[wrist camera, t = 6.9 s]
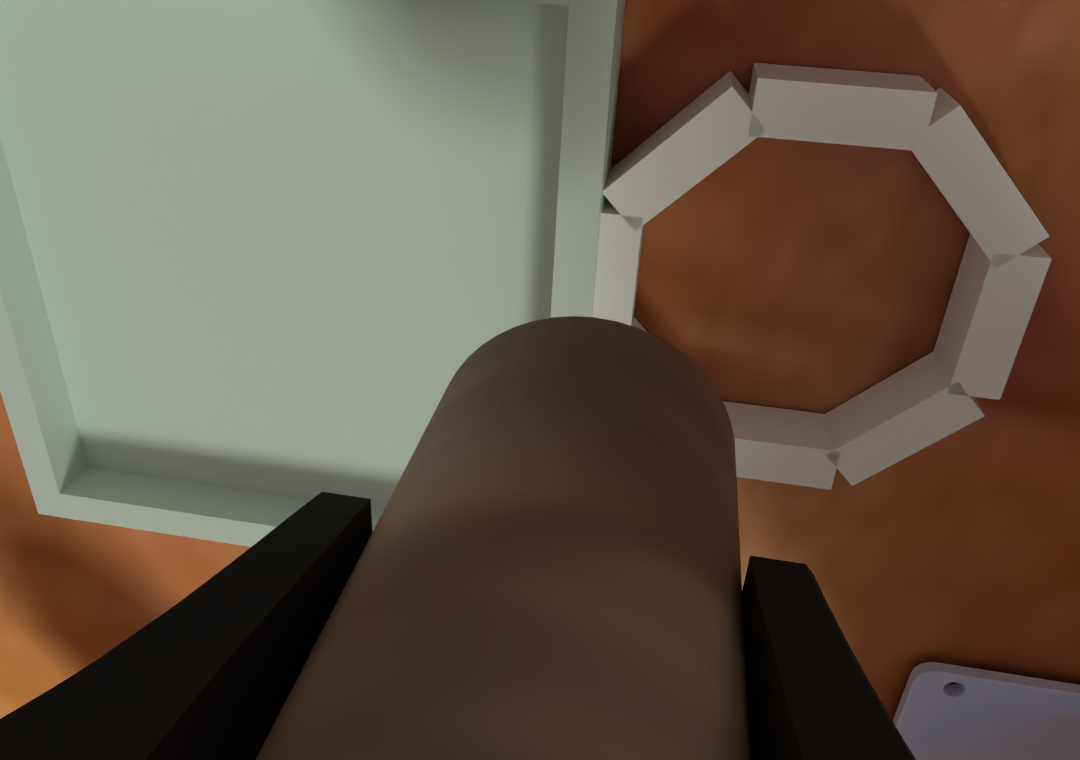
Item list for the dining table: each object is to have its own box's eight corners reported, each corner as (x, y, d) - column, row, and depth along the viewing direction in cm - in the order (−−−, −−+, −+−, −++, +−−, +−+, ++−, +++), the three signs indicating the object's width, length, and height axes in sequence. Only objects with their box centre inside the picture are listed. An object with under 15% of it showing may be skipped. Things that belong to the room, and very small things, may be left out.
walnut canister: (760, 336, 11) (838, 1013, 5) (710, 584, 14) (712, 1289, 7) (436, 298, 12) (76, 853, 5) (438, 543, 14) (188, 1159, 7)
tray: (630, -53, 16) (621, -44, 14) (577, 542, 23) (567, 595, 21) (-67, -97, 17) (-150, -95, 16) (85, 469, 24) (38, 513, 23)
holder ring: (1075, 87, 16) (1107, 106, 14) (944, 466, 20) (960, 507, 19) (610, 51, 17) (602, 65, 15) (580, 419, 21) (571, 454, 20)
